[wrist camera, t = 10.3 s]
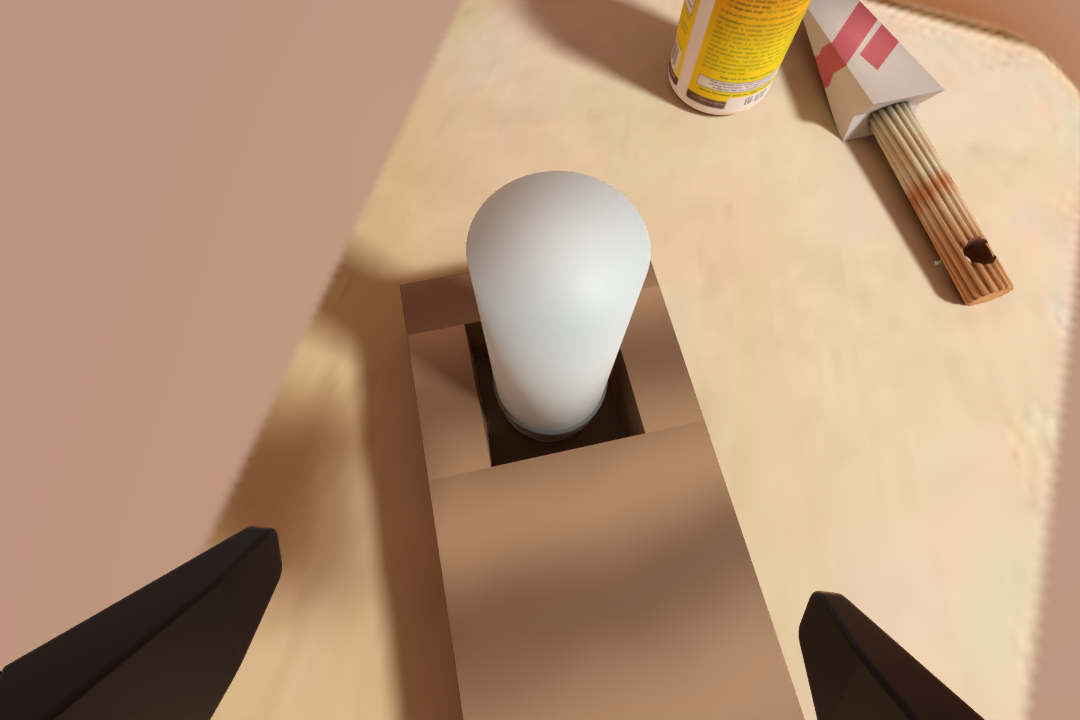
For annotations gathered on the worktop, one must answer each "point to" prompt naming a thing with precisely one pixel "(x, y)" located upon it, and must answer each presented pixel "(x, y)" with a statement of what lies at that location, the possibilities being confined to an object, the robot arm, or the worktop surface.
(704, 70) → the supplement bottle
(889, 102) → the paintbrush
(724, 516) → the brown holed block
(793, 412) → the worktop surface
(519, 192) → the peg
